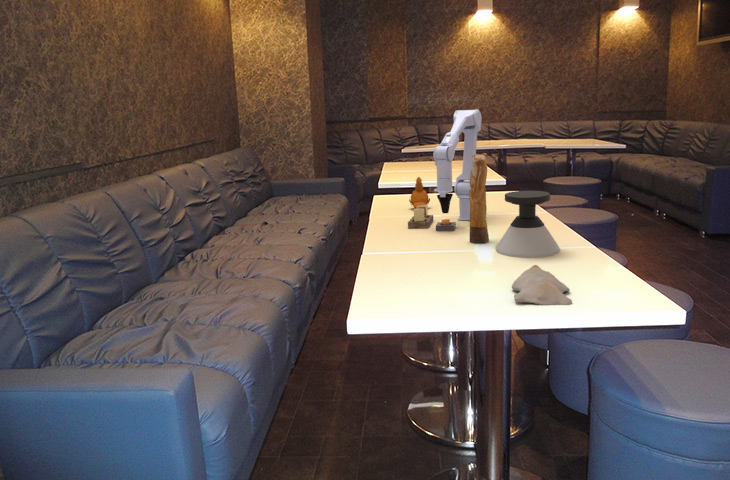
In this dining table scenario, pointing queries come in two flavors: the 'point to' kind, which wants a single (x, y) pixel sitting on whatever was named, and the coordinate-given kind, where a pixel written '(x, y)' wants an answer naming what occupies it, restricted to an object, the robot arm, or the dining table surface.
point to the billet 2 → (419, 215)
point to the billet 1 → (424, 210)
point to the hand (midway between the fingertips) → (445, 213)
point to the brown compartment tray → (420, 223)
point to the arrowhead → (540, 288)
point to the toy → (419, 194)
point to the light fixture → (527, 228)
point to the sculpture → (478, 200)
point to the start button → (445, 222)
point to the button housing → (445, 226)
